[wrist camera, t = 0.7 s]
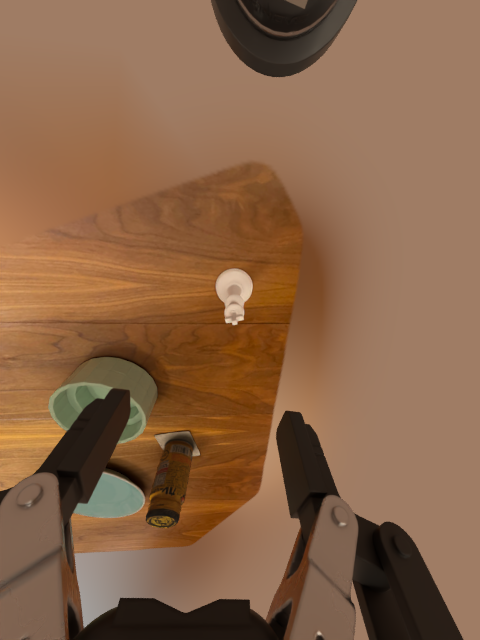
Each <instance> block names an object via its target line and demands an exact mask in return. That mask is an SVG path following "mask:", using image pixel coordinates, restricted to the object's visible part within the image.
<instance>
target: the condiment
mask: <svg viewBox="0 0 480 640" xmlns="http://www.w3.org/2000/svg"><path fill="white" fill-rule="evenodd" d="M154 436H155V438H156V439H157V441H158V443H159V445H160V446H161V447H162V449H163V453H162V456H161V459H160V462H159V465H158V467H157V473H156V476H155V479H154V483H153V485H152V490H151V493H150V504H149V508H148V513H147V515H146V521H147V523H148V524H149V525H151V526H153V527H157V528H169V527H173V526H175V525H176V524H177V523H178V521H179V516H180V512H181V505H182V504H183V503H184V500H185V495H186V489H187V484H188V478H189V472H190V467H191V461H192V456H199V455H200V453H199V450H198V448H197V446H196V444H195V442H194V440H193V437H192V436H191V434H190V431H187V432H185V431H184V432H174V433H167V434H160V435H154Z"/></svg>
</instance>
